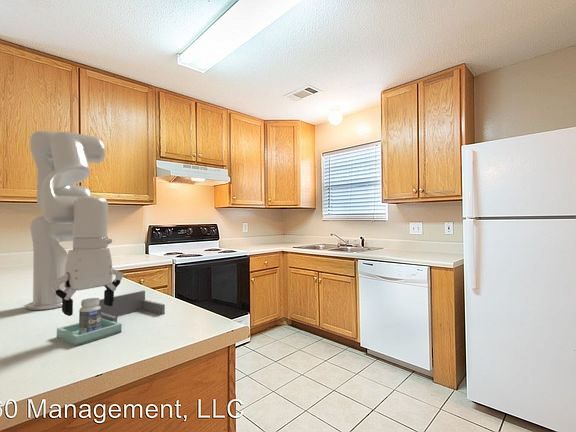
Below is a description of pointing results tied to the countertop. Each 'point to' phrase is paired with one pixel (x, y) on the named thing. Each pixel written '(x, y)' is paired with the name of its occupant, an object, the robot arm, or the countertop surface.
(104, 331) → the tray
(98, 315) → the pill bottle
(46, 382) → the countertop surface
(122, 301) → the bay
